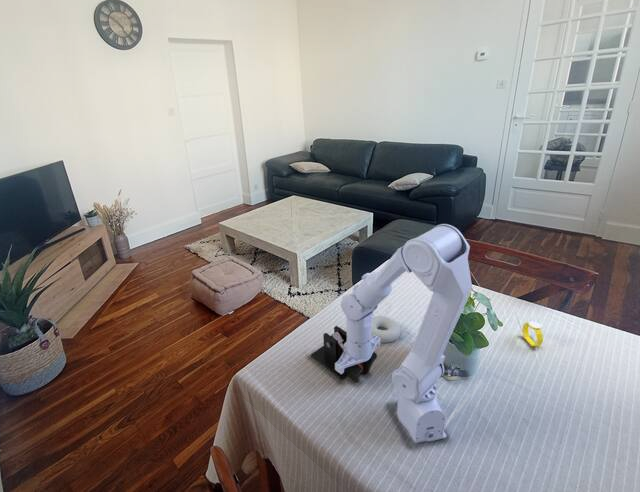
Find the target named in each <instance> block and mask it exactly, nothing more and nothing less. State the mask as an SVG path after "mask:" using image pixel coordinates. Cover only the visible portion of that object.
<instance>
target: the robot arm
mask: <svg viewBox="0 0 640 492" xmlns="http://www.w3.org/2000/svg"><path fill="white" fill-rule="evenodd" d="M470 249H471V246H470V244H469V243H468V241H467V239H466V238H465V236H464V235H463V234H462V232H461V231H460V230H459V229H458V228H457V227H455V226H454V225H451V224H448V223H440V224H437V225H435V226H434V227H432V228H431V229H430V230H428V231H426V232H424V233H423V234H420V235H418V236H417V237H414V238H411V239H409V240H407V241H406V242H405V244H404V245H402V246H401V247H399V248H397V250H396V251H395V252H394V253H393V254H392V256H391V257H390V258H389V259H388V260H387V262H386V263H384V265H383V266H382V268H381V269H380V270H379V271H372V272H367V273H365V274H363V275H362V276H361V280H362V281H361V282H359V284H356V285H354V286H353V287H352V292H351V293H348V294H346V295H344V296H343V297H342V299H341V301H340V307H341V310H342V313H343V314H344V316H346V319H345V321H346V322H345V323H346V332H347V342H346V343H344V347H346V349H345V350H344V352H343V354H342V355H341V357H340V359H339V360H338V361H337V362H336V363H335V370H336V371H337V372H339V373H340V374H343V373H344V369H345V370H346V372H347V375H346V376H347V377H348V378H349V379H351V381H353V382H354V383H355V384H356V383H358V382H359V381H360V375H361V373H364V374H365V375H368V374H370V370H371V368H372V365H373V363H374V362H375V361H376V359H378V354H377V353H376V352H375V350H376V347H379V346H381V342H380V340H381V339H380V338H379V337H377V336H375V335H373V336H371V324H372V317H374V312H375V311H376V310H377V309H378V307H379V304H381V303H382V302H383V301H384V300H385V299H386V298H387V297H388V296H389V295H390V294H391V293H392V290H393V287H392V283H394V282H395V281H396V280H397V279H398V278H400V277H401V276H402V275H403V274H405V273H409V274H410V273H413V274H414V275H415V276H416V277H417V278H418V279H419V280H420V281H421V283H422V284H423V285H424V286H425V287H426V288H427V289H428V290H429V291H430V292H432V295H431V297H430V301H429V303H428V306H427V308H426V311H425V314H424V316H423V319H422V320H421V324H420V327H419V328H418V332H417V335H416V337H415V340H414V342H413V345H412V347H411V350H410V352H409V353H408V354H407V356H406V357H405V358H404V360H403V361H402V362H401V364H400V366H399V367H398V368H396V369H394V370H393V372H392V374H391V380H392V384H393V386H394V388H395V389H396V391H397V406H396V407H397V408H396V415H397V418H398V420H399V422H400V423H401V425H402V426H403V427H404V429H406V430H407V433H409V435H410V438H411V439H412V441H413V442H414V444H418V443H423V442H427V443H430V442H434V441H437V440H443V439H446V438H447V433H446V432H445V430H444V427H445V422H446V421H445V418H446V415H445V413H444V411H443V410H442V408H441V406H440V404H439V401H438V398H437V384H438V380H439V379H440V378H442V377H443V374H444V369H445V366H444V361H445V360H446V356H445V355H444V352H445V350H446V347H447V345H448V344H449V341H450V339H451V336H452V334H453V332H454V330H455V328H456V326H457V323H458V321H459V319H460V317H461V315H462V313H463V310H464V309H465V306H466V304H467V302H468V301H469V298H470V295H471V293H472V290H473V284H472V277H471V272H470V265H469V255H470ZM359 363H362V364H363V371H362V372H361V370H362V368H361V367H360V366H358V365H357V364H359ZM360 372H361V373H360Z"/></svg>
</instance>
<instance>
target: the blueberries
mask: <svg viewBox="0 0 640 492" xmlns="http://www.w3.org/2000/svg"><path fill="white" fill-rule="evenodd" d="M451 365H452V364H450V365H449V364H446V365H445V366H444V374H443V376H442V377H443V378H444V379H445V380H446V381H448V382H450V381H457V380H459V378H458V377H459V376H460V369H461V370H463V371H464V370H465V368H464V369H462V368H457V367H455V368H454V367H452V366H451ZM450 366H451V367H450Z"/></svg>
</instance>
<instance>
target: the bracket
mask: <svg viewBox="0 0 640 492" xmlns="http://www.w3.org/2000/svg"><path fill="white" fill-rule="evenodd" d="M337 331H338V333H339V334H340V335H341V337H342V338H343V339H344V341H343V342H342V343H343V345H344V343H346V342H347V330H344V329H343V328H341V327H340V326H338V325H336V326H334V327H333V334H334V333H335V332H337ZM322 336H323V337H322V338H323V346H321V347H319V348H318V349H316V350H315V351H313V352H312V353H311V354H310V357H311V358H312V359H314V360H315V361H316V362H317V363H318V364H320V365H321V366H322V367H323V368H325V369H326V370H327V371H328V372H330V373H331V374H332V375H333V376H335V377H336V378H337V379H339V381H341V380H343V379H344V378H345V377H346V376H348V375H347V372H346V370H345V369H344V373H343V374H340V373H339V372H337V371H336V370H335V363H336V362H337V361H338V360H339V359H340V357H341V355H342V354H343V352H342V351H341V350H340V348H339V347H338V341H337V340H336V339H335V338H333V337H332V336H331V335H330V334H328V333H327V332H324V333H323V334H322Z"/></svg>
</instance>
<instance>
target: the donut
mask: <svg viewBox="0 0 640 492" xmlns="http://www.w3.org/2000/svg"><path fill="white" fill-rule="evenodd" d="M379 328H383V329H385V330H383V329H379ZM401 333H402V332H401V327H400V325H399V323H398V322H397V321H396V320H394V319H393V318H391V317H389V316H386V315H385V316H384V315H375V316H372V324H371V336H373V335H375V336H377V337H379V338H380V339H381V340H380V343H382V344H389V343H392V342H395V341H396V340H398V339H399V338H400V335H401Z"/></svg>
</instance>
